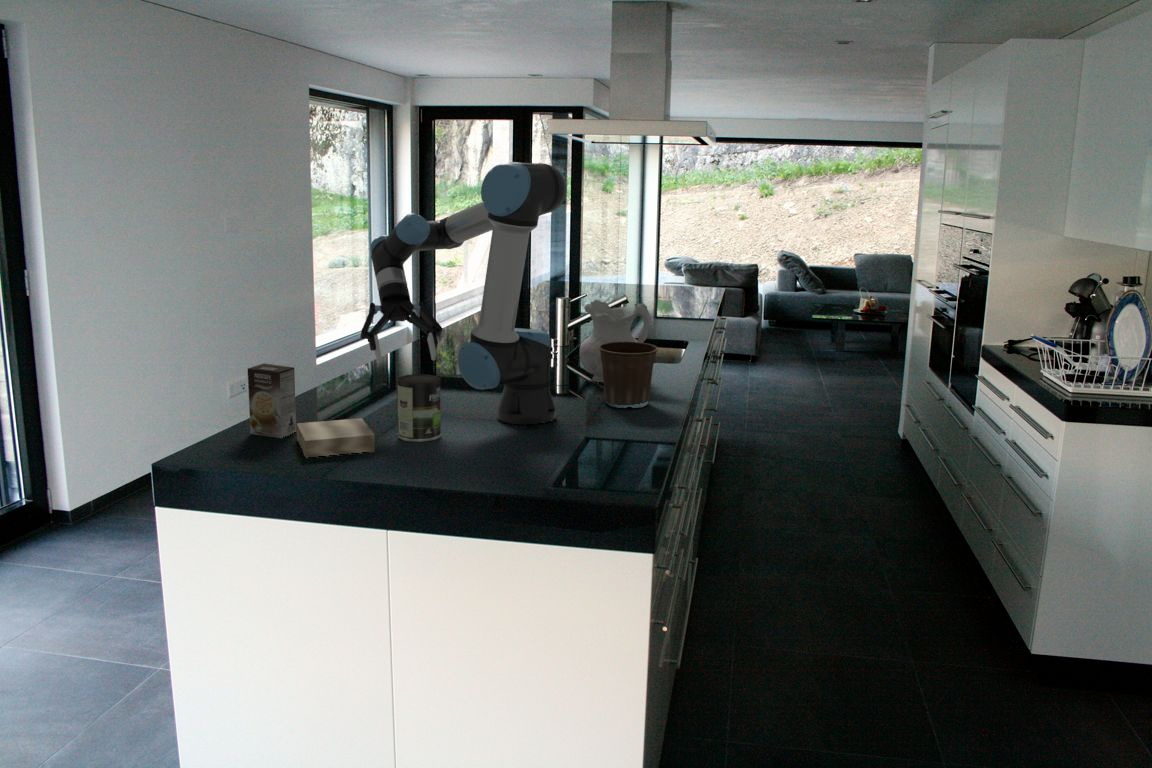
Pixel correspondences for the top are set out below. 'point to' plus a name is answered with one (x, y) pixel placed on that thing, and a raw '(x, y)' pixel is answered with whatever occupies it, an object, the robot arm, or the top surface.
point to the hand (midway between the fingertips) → (407, 358)
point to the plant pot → (627, 371)
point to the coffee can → (419, 407)
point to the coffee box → (272, 400)
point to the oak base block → (335, 437)
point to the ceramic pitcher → (609, 332)
